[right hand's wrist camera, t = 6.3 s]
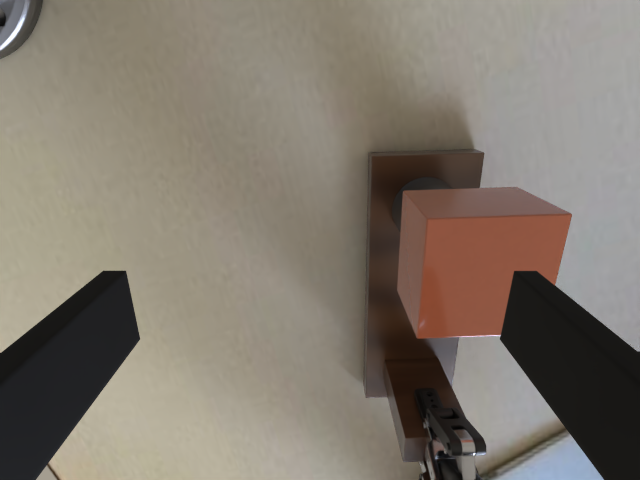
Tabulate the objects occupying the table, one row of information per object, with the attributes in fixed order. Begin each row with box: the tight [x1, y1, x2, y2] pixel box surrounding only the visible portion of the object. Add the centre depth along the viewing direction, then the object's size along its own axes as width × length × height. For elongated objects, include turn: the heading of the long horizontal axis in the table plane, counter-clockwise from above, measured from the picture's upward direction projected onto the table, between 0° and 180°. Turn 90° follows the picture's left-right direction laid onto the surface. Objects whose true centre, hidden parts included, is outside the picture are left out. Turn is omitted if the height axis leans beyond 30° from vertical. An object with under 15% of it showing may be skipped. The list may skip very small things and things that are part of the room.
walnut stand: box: [364, 149, 484, 462], centre depth 35 cm, size 28×10×12 cm, turn 2°
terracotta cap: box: [397, 187, 572, 338], centre depth 25 cm, size 8×8×6 cm
